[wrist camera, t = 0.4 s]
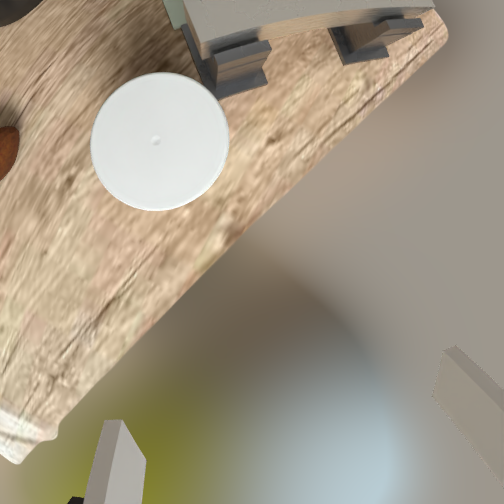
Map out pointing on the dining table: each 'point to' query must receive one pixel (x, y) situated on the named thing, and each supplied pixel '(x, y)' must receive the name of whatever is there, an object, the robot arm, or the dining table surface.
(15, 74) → the dining table surface
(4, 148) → the potato
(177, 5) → the mat
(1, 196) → the dining table surface
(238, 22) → the rail
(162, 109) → the supplement tub
